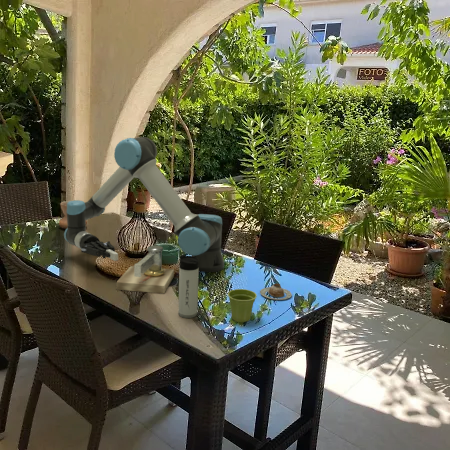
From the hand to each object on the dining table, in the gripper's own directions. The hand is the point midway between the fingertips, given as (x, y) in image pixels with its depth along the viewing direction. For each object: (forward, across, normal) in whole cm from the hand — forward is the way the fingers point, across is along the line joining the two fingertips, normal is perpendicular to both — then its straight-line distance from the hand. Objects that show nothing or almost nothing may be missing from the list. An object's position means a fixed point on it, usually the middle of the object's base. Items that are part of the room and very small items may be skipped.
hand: (116, 257), depth 177 cm
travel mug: (+39, -4, -10) cm, 41 cm away
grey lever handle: (+11, -7, -7) cm, 15 cm away
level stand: (+7, -9, -10) cm, 15 cm away
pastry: (+46, -41, -11) cm, 63 cm away
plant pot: (+52, -16, -10) cm, 56 cm away
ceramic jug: (-82, -21, -10) cm, 85 cm away
